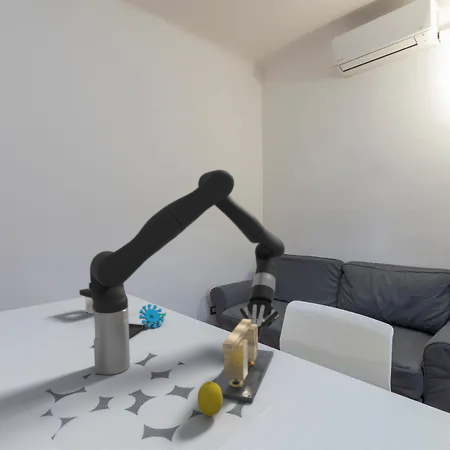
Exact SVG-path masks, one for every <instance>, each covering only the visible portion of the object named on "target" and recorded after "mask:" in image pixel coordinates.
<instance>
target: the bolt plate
mask: <svg viewBox="0 0 450 450" xmlns="http://www.w3.org/2000/svg"><path fill="white" fill-rule="evenodd" d="M273 357H274V351H273V350H265V349H258V355H257V357H256V359H255V361H252V360H248V356H247V340H245V339H241V340H240V341H239V343H238V344H237V345H236V347H235V348H234V349H233V351H230V350H223V369H222V370H221V372H220V373H219V374H218V376H217V377H216V379H215V380H214V382H215V383H216V384H218V385H219V387H220V388H221V391H222V396H223V399H227V400H232V401H238V402H244V403H251V404H253V403H254V399H255V397H256V395H257V393H258V390H259V388H260V386H261V384H262V382H263V380H264V378H265V376H266V373H267V371H268V368H269V366H270V364H271V363H272V359H273Z"/></svg>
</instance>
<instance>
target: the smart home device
mask: <svg viewBox="0 0 450 450" xmlns="http://www.w3.org/2000/svg"><path fill="white" fill-rule="evenodd" d="M144 330H146V324H138V323H131V322H129V340H131V339H132V338H134V337H136V336H137V335H138V334H140V333H142V332H143V331H144Z"/></svg>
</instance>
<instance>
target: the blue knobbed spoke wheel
mask: <svg viewBox="0 0 450 450" xmlns="http://www.w3.org/2000/svg"><path fill="white" fill-rule="evenodd" d="M151 307H152V308H151ZM157 308H158V306H157V304H154V305H152V304H151V303H148V304H147V305H143V306H142V309H140V310H139V312H138V313H139V316H138V317H139V319H140V320H141V319H142V320H141V323H142V324H141V325H146V327H147V328H149V329H150V328H151V326H152V329H156V328H158V327H161V326H162V325H163V323H164V321H165V318H164V317H166V316H167V314H168V313H167V312H166V311H165V312H163V310H162V308H158V309H157ZM152 324H153V325H152Z"/></svg>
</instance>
